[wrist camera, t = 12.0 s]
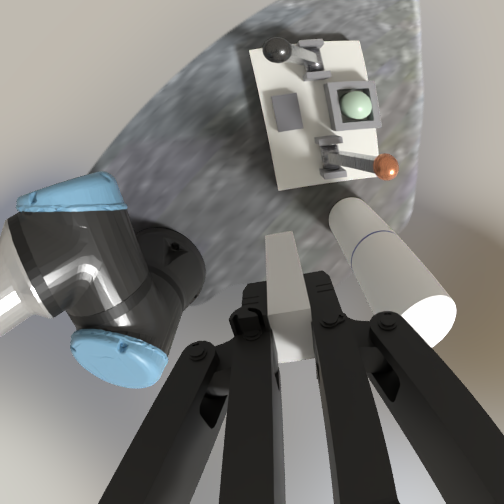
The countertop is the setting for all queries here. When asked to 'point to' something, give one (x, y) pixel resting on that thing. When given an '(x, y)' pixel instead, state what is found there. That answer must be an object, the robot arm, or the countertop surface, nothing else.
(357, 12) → the countertop surface
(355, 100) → the button
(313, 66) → the lever
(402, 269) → the cylindrical container
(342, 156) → the lever
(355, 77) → the panel
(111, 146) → the countertop surface
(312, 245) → the countertop surface
